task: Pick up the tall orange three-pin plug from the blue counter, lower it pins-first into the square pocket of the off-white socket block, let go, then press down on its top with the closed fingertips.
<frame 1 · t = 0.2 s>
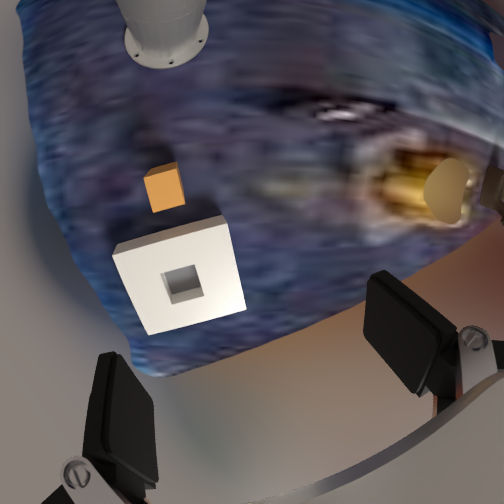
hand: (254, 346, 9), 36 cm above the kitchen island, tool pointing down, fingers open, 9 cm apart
clothes iron: (485, 188, 61), on the kitchen island
socket block: (181, 271, 47), on the kitchen island
plug: (167, 177, 40), on the kitchen island
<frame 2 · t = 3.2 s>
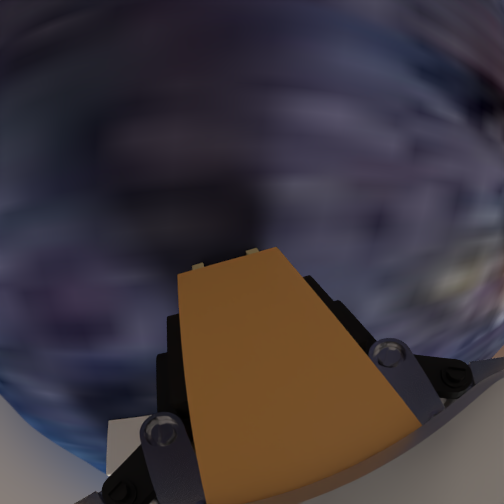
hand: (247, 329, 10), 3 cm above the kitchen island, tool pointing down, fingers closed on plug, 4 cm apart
socket block: (251, 443, 20), on the kitchen island
plug: (233, 290, 13), on the kitchen island, touching gripper
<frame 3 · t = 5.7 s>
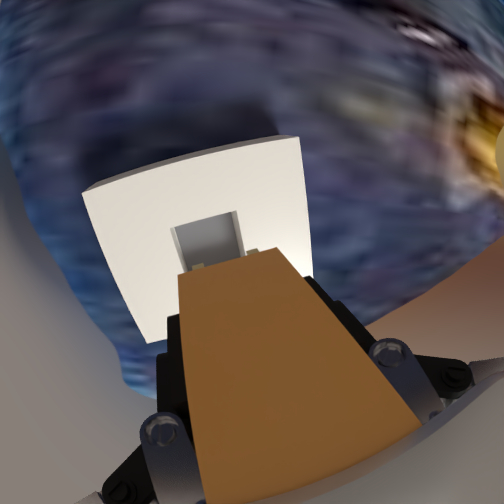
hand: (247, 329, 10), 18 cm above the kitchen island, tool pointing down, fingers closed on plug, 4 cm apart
socket block: (205, 232, 27), on the kitchen island
plug: (233, 291, 13), point 15 cm above the kitchen island, touching gripper
when the fingers open (5 cm above the kitchen island, at t = 8.2 s): plug stays where it is, resting on socket block.
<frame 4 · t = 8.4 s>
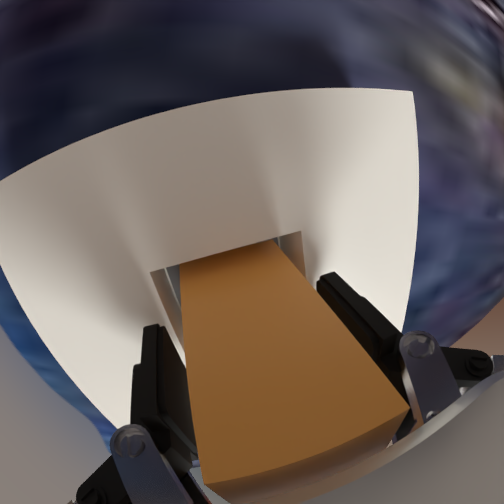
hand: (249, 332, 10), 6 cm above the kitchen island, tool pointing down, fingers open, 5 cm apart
socket block: (224, 267, 15), on the kitchen island
plug: (231, 281, 13), point 2 cm above the kitchen island, touching socket block
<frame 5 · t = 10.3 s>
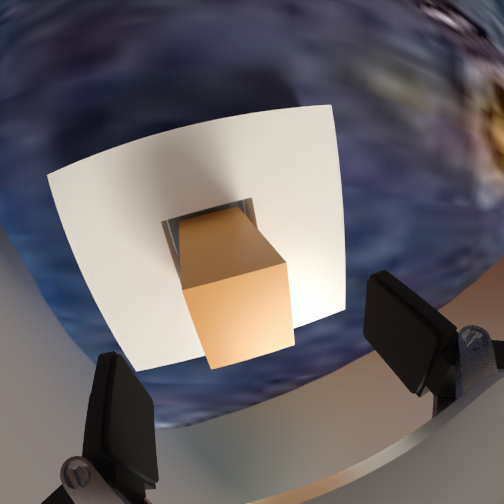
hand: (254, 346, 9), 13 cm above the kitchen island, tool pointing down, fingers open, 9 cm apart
socket block: (209, 231, 21), on the kitchen island
plug: (213, 237, 20), point 2 cm above the kitchen island, touching socket block
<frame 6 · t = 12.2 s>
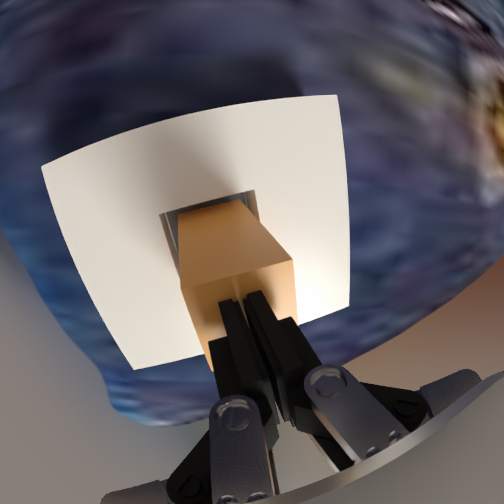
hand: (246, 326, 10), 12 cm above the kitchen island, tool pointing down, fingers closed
socket block: (209, 224, 21), on the kitchen island
plug: (213, 231, 19), point 2 cm above the kitchen island, touching gripper, socket block
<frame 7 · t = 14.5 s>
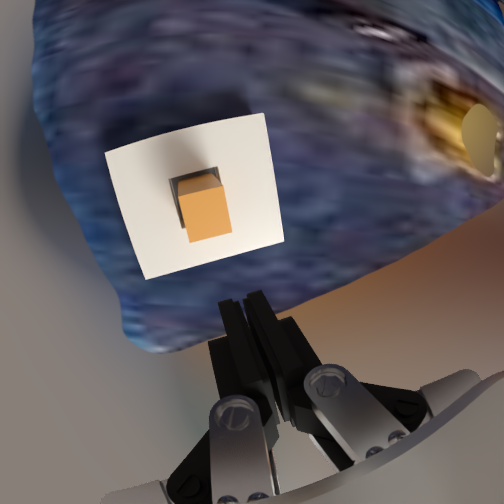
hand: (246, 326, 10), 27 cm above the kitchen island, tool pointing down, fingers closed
socket block: (196, 190, 34), on the kitchen island
plug: (197, 192, 33), point 2 cm above the kitchen island, touching socket block
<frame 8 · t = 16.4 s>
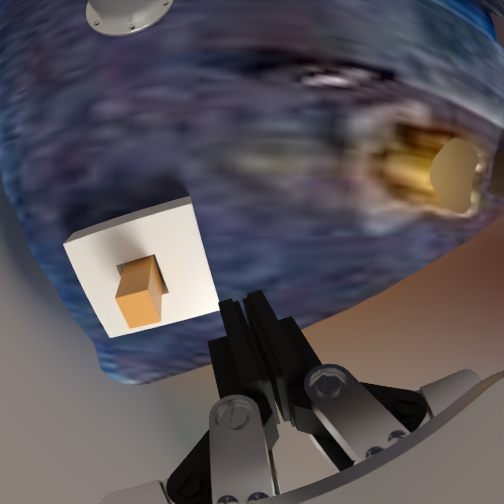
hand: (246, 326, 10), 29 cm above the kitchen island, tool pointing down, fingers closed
clothes iron: (495, 175, 52), on the kitchen island
socket block: (145, 264, 39), on the kitchen island
plug: (145, 269, 37), point 2 cm above the kitchen island, touching socket block
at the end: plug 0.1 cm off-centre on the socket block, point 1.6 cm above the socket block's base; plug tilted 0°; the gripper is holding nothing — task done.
